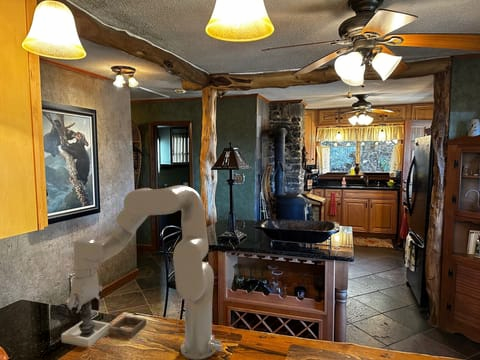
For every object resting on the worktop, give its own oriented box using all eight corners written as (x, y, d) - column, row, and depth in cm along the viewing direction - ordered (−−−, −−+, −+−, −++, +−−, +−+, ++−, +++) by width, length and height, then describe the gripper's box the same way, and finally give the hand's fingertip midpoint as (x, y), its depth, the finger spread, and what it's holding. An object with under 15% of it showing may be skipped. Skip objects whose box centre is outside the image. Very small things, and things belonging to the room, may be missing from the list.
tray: (110, 330, 128) (110, 323, 128) (88, 347, 117) (88, 339, 116) (85, 325, 131) (85, 318, 131) (61, 342, 120) (61, 334, 120)
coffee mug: (94, 318, 138) (93, 295, 137) (82, 328, 129) (81, 304, 128) (68, 316, 139) (67, 293, 138) (55, 327, 130) (54, 302, 130)
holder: (146, 325, 133) (146, 319, 133) (131, 338, 123) (131, 331, 123) (125, 321, 135) (125, 315, 135) (109, 333, 126) (109, 327, 126)
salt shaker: (99, 330, 126) (98, 300, 125) (89, 339, 120) (88, 307, 120) (85, 328, 127) (85, 299, 126) (75, 337, 122) (74, 306, 121)
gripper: (93, 263, 131) (94, 304, 133) (58, 278, 115) (60, 325, 116) (109, 265, 129) (109, 307, 131) (76, 281, 113) (77, 328, 114)
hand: (86, 315), depth 123 cm, fingers open, 9 cm apart
